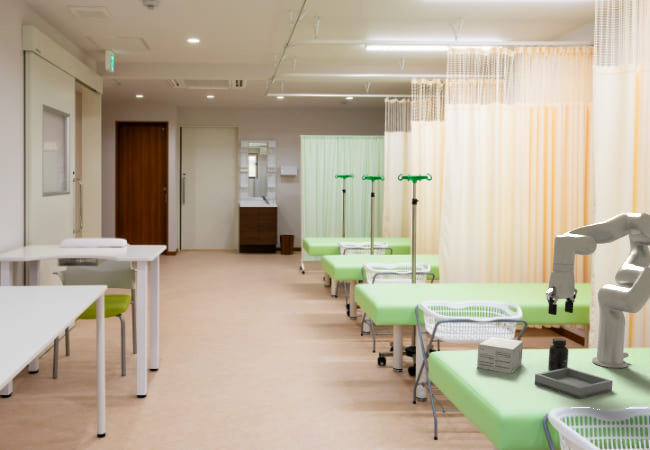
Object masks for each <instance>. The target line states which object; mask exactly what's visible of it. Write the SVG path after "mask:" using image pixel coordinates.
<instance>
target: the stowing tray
mask: <svg viewBox="0 0 650 450" xmlns="http://www.w3.org/2000/svg"><path fill="white" fill-rule="evenodd" d="M534 385H537V386H540V387H543V388H546V389H549V390H551V391H555V392H557V393H561V394H564V395H567V396H570V397H571V398H572V397H573V398H575V399H578V400H581V399H584V398H589V397H593V396H596V395H601V394H604V393H608V392H612V390H613V380H611V379H608V378H605V377H602V376H598V375H594V374H590V373H588V372H586V371H585V372H584V371H580V370H577V369H574V368H570V367H568V366H567V368H562V369H557V370H553V371H550V370H549V371H544V372H540V373H534Z"/></svg>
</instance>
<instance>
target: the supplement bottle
mask: <svg viewBox="0 0 650 450" xmlns="http://www.w3.org/2000/svg"><path fill="white" fill-rule="evenodd" d="M551 344H552V345H550V346H549V349H548V351H549V352H548V364H547V366H548V367H547V368H548V370H549V371H553V370H557V369H562V368H567V367H568V364H569V362H568V361H569V348H568V346H566V345H567V340H566V339H565V338H561V337H555V338H552V343H551Z"/></svg>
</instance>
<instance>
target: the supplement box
mask: <svg viewBox="0 0 650 450" xmlns="http://www.w3.org/2000/svg"><path fill="white" fill-rule="evenodd" d="M523 343H524V342H523V340H518V339H511V338H503V337H497V336H489V337H488V338H486V339H484V340H483V341H482V342H480V343H478V345H477V361H476V362H477V363H476V364H477V365H476V368H477V367H479V369H482V368H483V370H488V369H489V371H493V370H494V372H500V373H506V374H513V372H514V371H515V370H517V369H518V367H520V365H522V358H523Z"/></svg>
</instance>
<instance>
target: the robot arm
mask: <svg viewBox="0 0 650 450" xmlns="http://www.w3.org/2000/svg"><path fill="white" fill-rule="evenodd" d="M626 236H628V239H629V246H630V250H629V253H628V255H627V257H626V259H625V260H624V261H623V263H622V264H621V266H620V267H619V268H618V269H617V272H616V273H615V276H614V280H615V282H616V284H612V283H608V284H604V285H603V286H601V287H600V289H599V290H598V292H597V303H598V310H599V311H598V312H599V313H598V314H599V317H598V334H597V350H596V356H594V357H593V358H592V360H591V361H592V363H594V364H596V365H598V366H601V367H605V368H613V369H624V368H626V367H628V363H627V361H625V360H624V359H625V358H628V357H629V353H628V352H624V350H625V348H624V347H625V335H626V334H625V333H626V318H625V317H626V316H625V314H624V313H629V314H636V313H639V312H641V310H642V309H643V308H644V307H645V306H646V304H647V303H648V302H649V300H650V248H649V246H650V214H649V213H644V212H632V211H626V212H622V213H621V212H620V214H617V215H615V216H613V217H611V218H608V219H606V220H604V221H602V222H601V221H600V222H598V223H594V224H590V225H584V226H579V227H576V228H574V229H572V230H570V231H567V232H565V233H564V234H560V235H559V234H558V235H556V236H555V238H554V243H553V244H554V246H553V260H552V271H551V273H550V277H549V281H548V290H547V291H545V296H546V300H547V303H548V315H553V316H556V315H557V310H558V304H557V303H558V300H562V299H563V300H565V303H564V312H565V313H569V314H573V313H574V303H575V300H576V298H577V294H578V289H577V288H575V260H576V255H578V256H580V255H581V256H589V255H592V254H594V253H595V251H596V250H597V248H598V247H597V246H598V245H600V244H601V245H603V244H610V243H613V242H615V241H617V240H620V239H621V238H624V237H626Z"/></svg>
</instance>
